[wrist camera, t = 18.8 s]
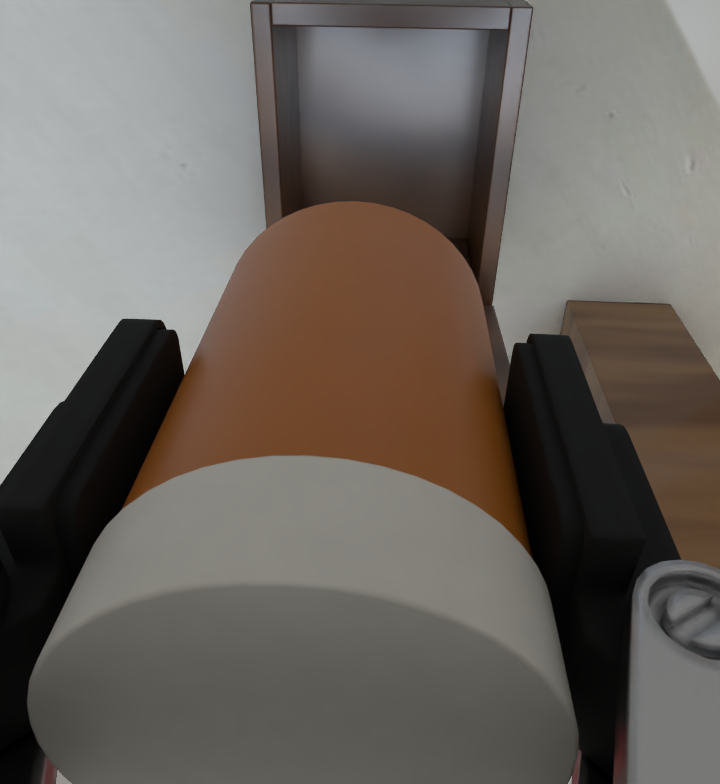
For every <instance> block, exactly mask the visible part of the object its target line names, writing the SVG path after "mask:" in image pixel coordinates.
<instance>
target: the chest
mask: <svg viewBox="0 0 720 784" xmlns="http://www.w3.org/2000/svg"><path fill="white" fill-rule="evenodd" d="M250 11H251V24H252V38H253V52H254V65H255V79H256V93H257V106H258V120H259V133H260V147H261V161H262V174H263V188H264V201H265V215H266V229H267V228H268V227H270V226H271V225H273V224H274V223H276V222H278V221H279V220H281V219H282V218H284V217H286V216H288V215H290V214H293V213H295V212H297V211H299V210H302V209H305V208H309V207H312V206H315V205H319V204H325V203H331V202H344V201H358V202H369V203H376V204H380V205H385V206H389V207H393V208H396V209H398V210H401V211H404V212H407V213H409V214H411V215H413V216H415V217H417V218H419V219H421V220H423V221H425V222H426V223H428V224H429V225H431V226H432V227H433V228H435V229H436V230H438V231H439V232H441V233H442V234H443V235H444V236H445V237H446V238H447V239H448V240H449V241H450V242H451V243H452V244H453V245H454V246H455V247H456V248H457V250H458V251H459V252H460V253H461V254H462V256H463V257H464V258H465V260H466V262H467V263H468V265H469V267H470V268H471V270H472V272H473V274H474V277H475V279H476V281H477V284H478V286H479V290H480V294H481V298H482V302H483V305H486V306H492V302H493V294H494V287H495V280H496V273H497V266H498V258H499V251H500V244H501V237H502V230H503V222H504V215H505V208H506V201H507V194H508V186H509V179H510V172H511V165H512V158H513V150H514V143H515V136H516V129H517V122H518V114H519V107H520V100H521V93H522V86H523V78H524V71H525V64H526V57H527V50H528V42H529V35H530V28H531V21H532V13H533V7H532V6H531V5H529V4H528V3H527V2H526V1H525V0H253V1H252V2H251V3H250Z"/></svg>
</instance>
